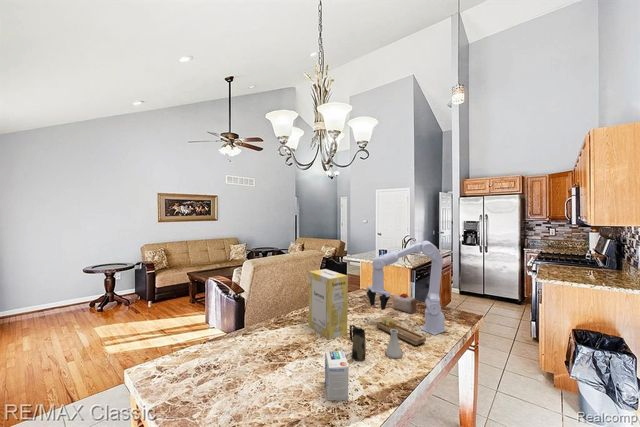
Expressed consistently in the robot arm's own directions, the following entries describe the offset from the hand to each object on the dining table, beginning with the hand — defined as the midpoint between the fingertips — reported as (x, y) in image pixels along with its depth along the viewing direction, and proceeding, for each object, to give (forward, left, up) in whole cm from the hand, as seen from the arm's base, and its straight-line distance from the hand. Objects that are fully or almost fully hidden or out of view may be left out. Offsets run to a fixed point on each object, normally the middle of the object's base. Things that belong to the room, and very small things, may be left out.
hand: (377, 307), depth 150 cm
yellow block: (-1, +7, -7) cm, 10 cm away
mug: (+29, +18, -10) cm, 36 cm away
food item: (-29, -8, -10) cm, 32 cm away
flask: (+15, +25, -10) cm, 31 cm away
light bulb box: (+49, +31, -10) cm, 59 cm away
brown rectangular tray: (-1, +14, -10) cm, 17 cm away
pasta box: (+24, -10, -10) cm, 28 cm away
